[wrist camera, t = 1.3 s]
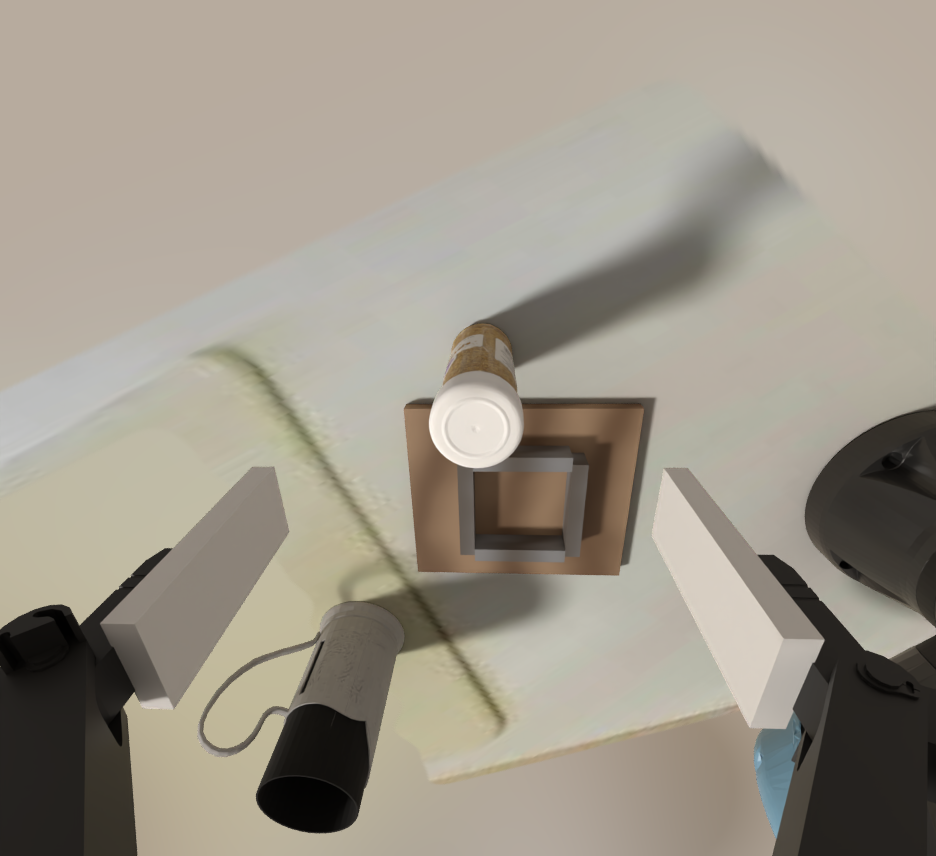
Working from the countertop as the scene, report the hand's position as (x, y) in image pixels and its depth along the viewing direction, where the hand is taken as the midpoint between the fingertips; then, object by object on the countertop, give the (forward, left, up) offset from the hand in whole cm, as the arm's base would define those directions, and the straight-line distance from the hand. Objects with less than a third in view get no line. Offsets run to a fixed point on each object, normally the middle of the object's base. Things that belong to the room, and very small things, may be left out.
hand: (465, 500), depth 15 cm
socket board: (-3, +12, -20) cm, 23 cm away
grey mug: (+15, +28, -20) cm, 37 cm away
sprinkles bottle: (0, 0, -20) cm, 20 cm away
